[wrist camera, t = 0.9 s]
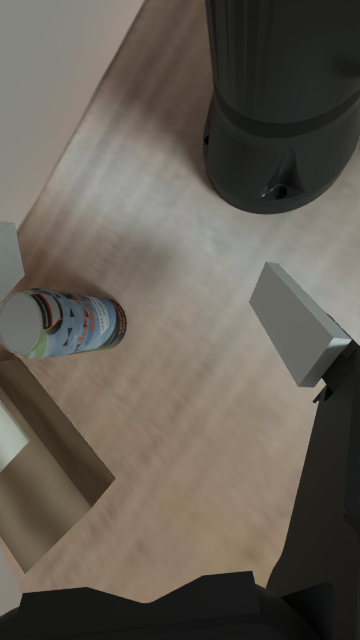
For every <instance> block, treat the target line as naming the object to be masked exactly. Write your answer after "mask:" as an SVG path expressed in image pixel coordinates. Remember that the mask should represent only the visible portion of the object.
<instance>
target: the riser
mask: <svg viewBox="0 0 360 640" xmlns="http://www.w3.org/2000/svg"><path fill="white" fill-rule="evenodd" d="M114 480H115V477H114V476H113V475H112V474H111V472H110V471H109V470H108V469H107V467H106V466H105V465H104V464H103V462H102V461H101V460H100V459H99V457H98V456H97V455H96V454H95V452H94V451H93V450H92V449H91V447H90V446H89V445H88V444H87V442H86V441H85V440H84V439H83V437H82V436H81V435H80V434H79V432H78V431H77V430H76V429H75V427H74V426H73V425H72V424H71V422H70V421H69V420H68V419H67V417H66V416H65V415H64V414H63V412H62V411H61V410H60V408H59V407H58V406H57V405H56V403H55V402H54V401H53V400H52V398H51V397H50V396H49V395H48V393H47V392H46V391H45V390H44V388H43V387H42V386H41V385H40V383H39V382H38V381H37V380H36V378H35V377H34V376H33V375H32V373H31V372H30V371H29V370H28V368H27V367H26V366H25V365H24V363H23V362H22V361H21V360H20V359H12V360H4V361H0V536H1V538H2V539H3V541H4V542H5V544H6V545H7V547H8V548H9V550H10V551H11V553H12V555H13V556H14V558H15V559H16V561H17V562H18V564H19V565H20V567H21V568H22V570H23V571H24V573H26V572H27V571H28V570H29V569H30V568H31V567H32V566H33V565H34V564H35V563H36V562H37V561H38V560H39V559H40V558H42V557H43V556H44V555H45V554H46V553H47V552H48V551H49V550H50V549H51V548H52V547H53V546H54V545H55V544H56V543H57V542H58V541H59V540H60V539H61V538H62V537H63V536H64V535H65V534H66V533H67V532H68V531H69V530H70V529H71V528H72V527H73V526H74V525H75V524H76V523H77V522H78V521H79V520H80V519H81V518H82V517H83V516H84V515H85V514H86V513H87V512H88V511H89V510H90V509H91V508H92V506H93V505H94V504H95V503H96V502H97V500H98V499H99V498H100V497H101V496H102V494H103V493H104V492H105V491H106V489H107V488H108V487H109V486H110V485H111V483H112V482H113V481H114Z"/></svg>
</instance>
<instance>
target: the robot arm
mask: <svg viewBox="0 0 360 640" xmlns="http://www.w3.org/2000/svg"><path fill="white" fill-rule="evenodd" d="M205 5H206V15H207V25H208V34H209V44H210V54H211V64H212V73H213V84H214V89H213V93H212V98H211V102H210V106H209V111H208V115H207V120H206V124H205V129H204V135H203V154H204V160H205V165H206V170H207V174H208V177H209V179H210V182H211V184H212V185H213V187H214V189H215V190H216V191H217V193H218V194H219V195H220V196H221V197H222V198H223V199H224V200H226V201H227V202H228V203H230V204H231V205H233V206H235V207H237V208H239V209H241V210H244V211H247V212H251V213H257V214H277V213H283V212H288V211H291V210H294V209H297V208H300V207H302V206H304V205H306V204H308V203H310V202H312V201H313V200H315V199H316V198H318V197H319V196H320V195H322V194H323V193H324V192H325V191H326V190H327V189H328V188H329V187H330V186H331V185H332V184H333V183H334V182H335V181H336V179H337V178H338V177H339V175H340V174H341V172H342V171H343V169H344V167H345V166H346V164H347V163H348V161H349V160H350V158H351V156H352V154H353V152H354V150H355V148H356V145H357V142H358V140H359V136H360V0H205ZM24 276H25V274H24V269H23V264H22V259H21V254H20V249H19V244H18V239H17V234H16V229H15V225H14V223H9V222H2V221H0V302H1V301H2V300H3V299H4V298H5V296H6V295H7V294H8V293H9V292H10V291H11V290H12V289H13V288H14V287H15V285H16V284H17V283H18V282H19V281H20V280H21V279H22V278H23V277H24ZM249 303H250V304H251V306H252V308H253V310H254V311H255V313H256V315H257V316H258V318H259V320H260V322H261V323H262V325H263V327H264V329H265V330H266V332H267V334H268V336H269V337H270V339H271V341H272V342H273V344H274V346H275V348H276V349H277V351H278V353H279V355H280V356H281V358H282V360H283V361H284V363H285V365H286V367H287V368H288V370H289V372H290V374H291V375H292V377H293V379H294V380H295V382H296V384H297V386H298V387H315V385H316V384H317V383H318V382H319V380H320V379H321V378H322V379H323V380H324V382H325V383H326V384H327V385H326V386H325V387H324V388H323V389H322V391H321V392H320V393H319V394H318V395H317V397H316V398H315V399H314V400H313V402H314V403H316V402H317V401H319V404H318V408H317V412H316V416H315V420H314V425H313V429H312V433H311V437H310V441H309V445H308V450H307V454H306V458H305V462H304V466H303V470H302V474H301V479H300V483H299V487H298V491H297V495H296V499H295V504H294V508H293V512H292V516H291V520H290V524H289V529H288V533H287V537H286V541H285V545H284V549H283V552H282V554H281V557H280V559H279V560H278V562H277V563H276V565H275V567H274V568H273V570H272V573H271V575H270V577H269V580H268V583H267V586H266V589H265V588H263V587H261V586H259V585H257V584H255V581H254V577H253V572H252V571H245V572H234V573H224V574H214V575H204V576H201V577H199V578H197V579H195V580H194V581H192V582H190V583H188V584H186V585H184V586H182V587H180V588H178V589H176V590H174V591H172V592H170V593H169V594H167V595H165V596H163V597H161V598H159V599H157V600H155V601H153V602H151V603H140V602H136V601H133V600H129V599H126V598H122V597H119V596H116V595H112V594H109V593H105V592H102V591H99V590H95V589H92V588H88V587H82V588H72V589H61V590H51V591H41V592H31V593H23V595H22V599H21V602H20V606H19V607H17V608H15V609H13V610H11V611H9V612H7V613H6V614H4V615H2V616H1V617H0V640H360V346H359V345H358V344H357V343H356V342H355V341H354V340H353V339H352V338H351V337H350V336H349V335H348V334H347V333H346V332H345V331H344V330H343V329H342V328H341V327H340V326H339V325H338V324H337V323H336V322H335V320H334V319H333V318H332V317H331V316H330V315H329V314H327V313H326V312H324V311H323V309H322V308H321V307H320V306H319V305H318V304H317V303H316V302H315V301H314V300H313V299H312V298H311V297H310V296H309V295H308V294H307V293H306V292H305V291H304V290H303V289H302V288H301V287H300V286H299V285H298V284H297V283H296V282H295V281H294V280H293V279H292V278H291V277H290V276H289V275H288V274H287V273H286V271H285V270H284V269H283V268H282V267H281V266H280V265H279V264H277V263H270V262H266V263H265V265H264V268H263V270H262V272H261V275H260V277H259V280H258V282H257V284H256V287H255V289H254V291H253V294H252V296H251V299H250V301H249Z"/></svg>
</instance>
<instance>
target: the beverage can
mask: <svg viewBox="0 0 360 640" xmlns="http://www.w3.org/2000/svg"><path fill="white" fill-rule="evenodd" d="M126 326H127V321H126V316H125V313H124V310H123V309H122V307H121V306H120V305H119V304H118V303H117V302H116V301H114V300H111V299H107V298H100V297H93V296H87V295H80V294H74V293H67V292H61V291H54V290H47V289H41V288H32V289H28V290H25V291H23V292H21V293H15V294H13V295H11V296H9V297H8V298H7V299H6V300H5V301H4V303H3V305H2V307H1V309H0V339H1V341H2V343H3V345H4V346H5V348H6V349H7V350H9V351H10V352H12V353H14V354H20V355H22V356H24V357H27V358H31V359H41V358H48V357H55V356H62V355H69V354H76V353H83V352H90V351H97V350H104V349H110V348H113V347H115V346H116V345H117V344H119V343H120V341H121V340H122V339H123V337H124V335H125V332H126Z"/></svg>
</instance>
